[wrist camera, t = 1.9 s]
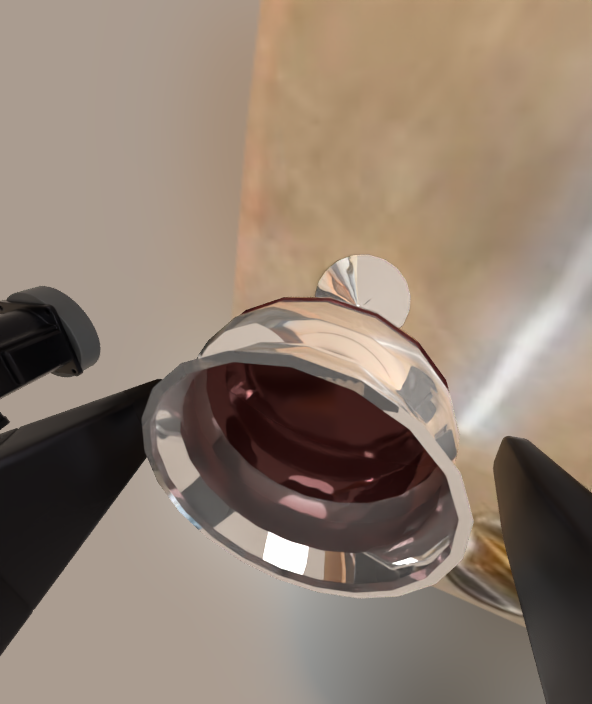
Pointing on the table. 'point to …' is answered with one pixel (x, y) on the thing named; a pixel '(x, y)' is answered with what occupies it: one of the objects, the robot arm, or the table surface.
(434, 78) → the table surface
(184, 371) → the wineglass
